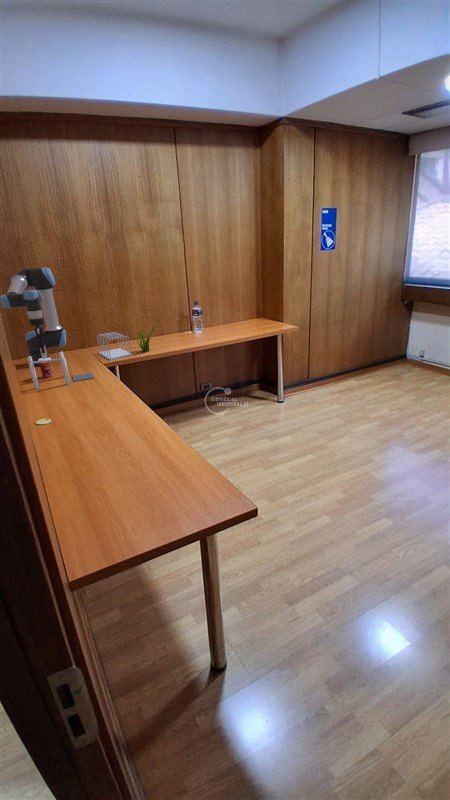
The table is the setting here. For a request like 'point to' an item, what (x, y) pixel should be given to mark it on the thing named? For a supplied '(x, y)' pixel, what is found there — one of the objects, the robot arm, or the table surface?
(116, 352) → the file sorter
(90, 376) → the mat
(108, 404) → the table surface
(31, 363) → the white hurdle
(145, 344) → the decorative plant
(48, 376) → the coffee cup
